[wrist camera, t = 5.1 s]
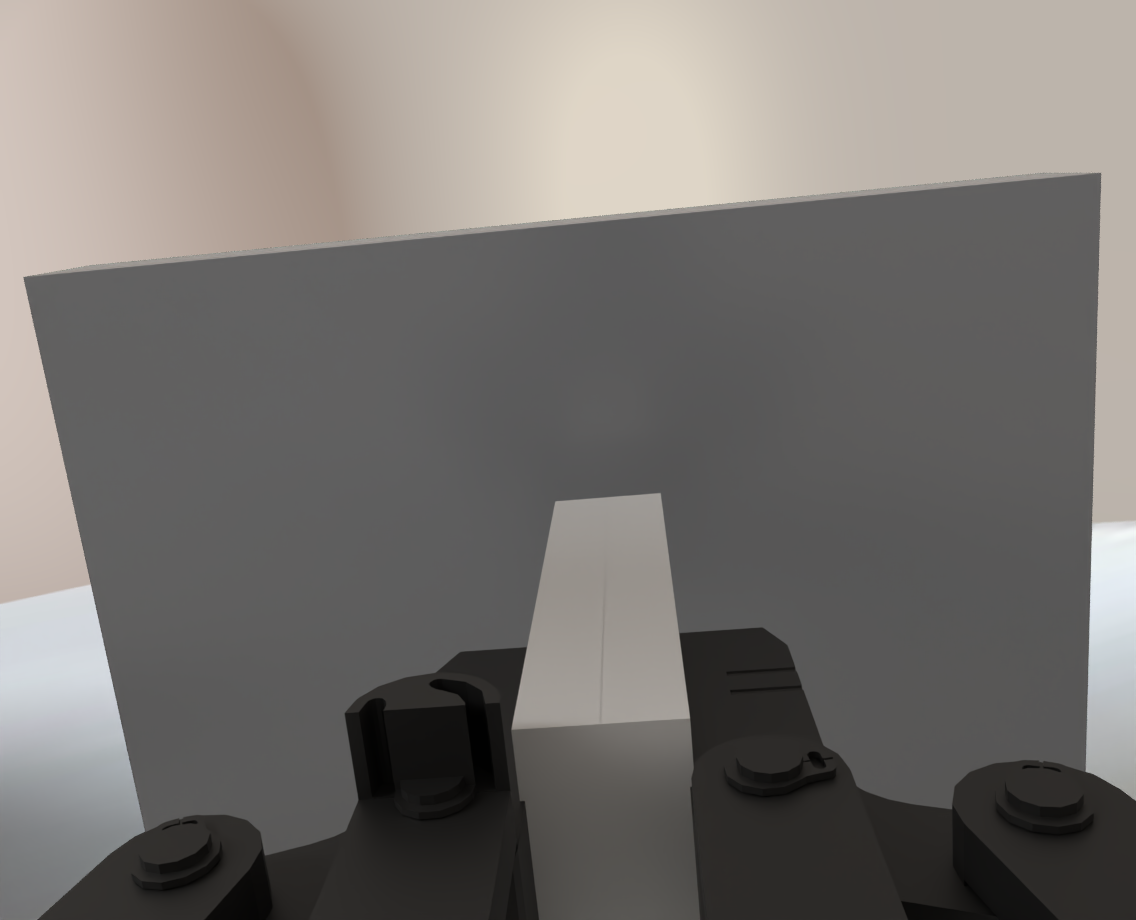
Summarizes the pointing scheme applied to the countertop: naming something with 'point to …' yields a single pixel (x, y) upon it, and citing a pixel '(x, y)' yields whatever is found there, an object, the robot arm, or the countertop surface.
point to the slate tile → (592, 470)
